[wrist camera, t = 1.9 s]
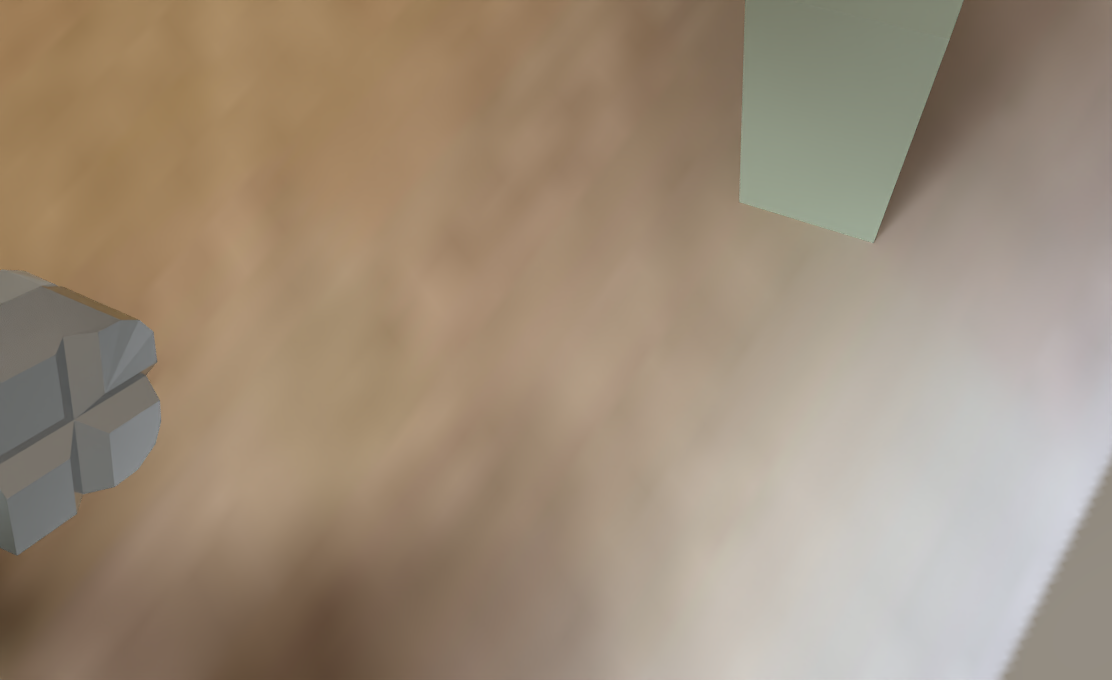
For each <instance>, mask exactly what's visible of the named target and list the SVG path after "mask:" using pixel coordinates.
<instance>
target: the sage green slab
mask: <svg viewBox="0 0 1112 680" xmlns="http://www.w3.org/2000/svg"><path fill="white" fill-rule="evenodd" d="M963 1H964V0H745V25H744V59H743V93H742V127H741V161H740V195H739V202H740V203H744V204H747V205H750V206H754V207H757V208H760V209H763V210H767V211H770V212H773V213H777V214H780V215H783V216H786V217H790V218H793V219H796V220H799V221H803V222H806V223H809V224H813V225H816V226H819V227H822V228H826V229H829V230H832V231H836V232H839V233H842V234H845V235H849V236H852V237H855V238H858V239H862V240H865V241H868V242H872V243H874V240H875V238H876V235H877V232H878V230H879V227H880V224H881V222H882V219H883V216H884V214H885V211H886V208H887V206H888V203H889V200H890V198H891V195H892V192H893V190H894V187H895V184H896V182H897V179H898V176H899V174H900V171H901V168H902V165H903V163H904V160H905V157H906V155H907V152H908V149H909V147H910V144H911V141H912V139H913V136H914V133H915V131H916V128H917V125H918V123H919V120H920V117H921V115H922V112H923V109H924V107H925V104H926V101H927V99H928V96H929V93H930V91H931V88H932V85H933V82H934V80H935V77H936V74H937V72H938V69H939V66H940V64H941V61H942V58H943V56H944V53H945V50H946V48H947V45H948V42H949V40H950V37H951V34H952V31H953V29H954V26H955V23H956V20H957V18H958V15H959V12H960V9H961V6H962V4H963Z"/></svg>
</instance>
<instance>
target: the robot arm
mask: <svg viewBox="0 0 1112 680" xmlns="http://www.w3.org/2000/svg"><path fill="white" fill-rule="evenodd" d="M156 363H157V357H156V349H155V341H154V332H153V331H152V330H151V329H149V328H148V327H147V326H146V325H144V324H143V323H142V322H141V321H140V320H138V319H136V318H133V317H131V316H129V315H127V314H124V313H122V312H120V311H117V310H115V309H113V308H110V307H108V306H106V305H104V304H101V303H99V302H97V301H94V300H92V299H90V298H88V297H85V296H83V295H81V294H78V293H76V292H74V291H72V290H69V289H67V288H65V287H61V286H57V285H55V284H53V283H51V282H49V281H46V280H44V279H42V278H39V277H37V276H35V275H33V274H30V273H28V272H26V271H18V270H0V548H2V549H4V550H6V551H8V552H10V553H12V554H14V555H19V554H20V553H22V552H23V551H24V550H26V549H27V548H29V547H30V546H32V545H33V544H34V543H36V542H37V541H39V540H40V539H42V538H43V537H44V536H46V535H47V534H49V533H50V532H52V531H53V530H54V529H56V528H57V527H59V526H60V525H61V524H63V523H64V522H66V521H67V520H69V519H70V518H71V517H73V516H74V515H76V514H77V512H78V508H79V505H80V502H81V499H82V496H83V494H86V493H91V492H95V491H99V490H104V489H108V488H112V487H115V486H116V485H118V484H119V483H121V482H122V481H123V480H125V479H126V478H127V477H129V476H130V475H131V474H133V473H134V472H135V471H137V470H138V469H139V467H140V466H141V464H142V463H143V461H144V460H145V458H146V457H147V456H148V454H149V453H150V451H151V450H152V448H153V447H154V445H155V443H156V439H157V435H158V431H159V427H160V423H161V413H160V400H159V398H158V396H157V394H156V393H155V391H154V389H153V387H152V385H151V384H150V382H149V380H148V378H147V377H146V375H147V374H148V372H149V371H150V370H151V369H152V367H153V366H154V365H155V364H156Z"/></svg>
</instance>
